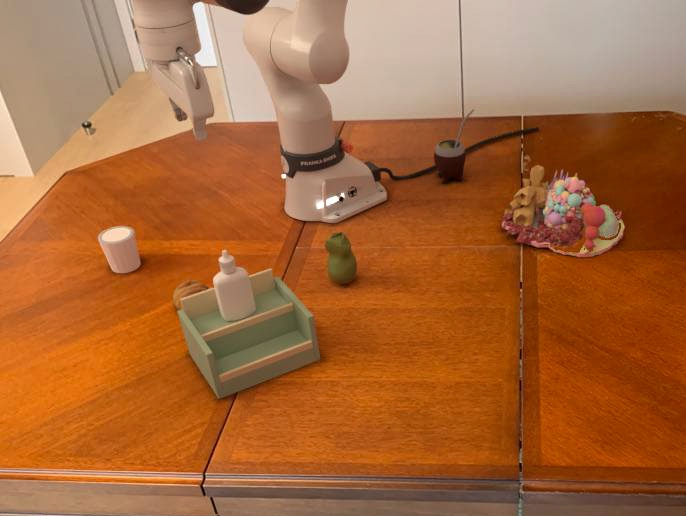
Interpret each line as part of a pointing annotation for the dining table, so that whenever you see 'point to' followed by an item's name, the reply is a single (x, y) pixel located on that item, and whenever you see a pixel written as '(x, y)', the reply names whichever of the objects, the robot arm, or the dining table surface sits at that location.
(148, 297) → the dining table surface
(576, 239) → the pastel sphere sculpture
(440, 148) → the mate gourd
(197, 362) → the spice rack
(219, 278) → the eye dropper bottle
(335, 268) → the pear
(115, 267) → the white short cylinder
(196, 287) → the pastry
